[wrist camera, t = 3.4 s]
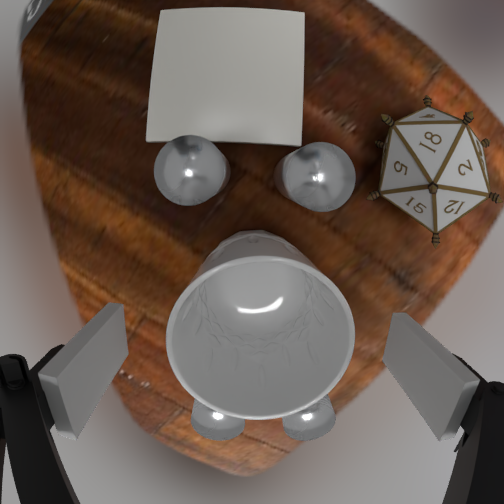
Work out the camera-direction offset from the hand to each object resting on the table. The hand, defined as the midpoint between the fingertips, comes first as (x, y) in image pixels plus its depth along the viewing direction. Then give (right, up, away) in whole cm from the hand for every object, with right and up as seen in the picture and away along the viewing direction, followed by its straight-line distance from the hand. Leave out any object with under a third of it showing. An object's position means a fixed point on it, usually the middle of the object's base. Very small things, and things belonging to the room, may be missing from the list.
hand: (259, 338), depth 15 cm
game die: (+11, +10, +6) cm, 16 cm away
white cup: (0, +2, +8) cm, 8 cm away
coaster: (-2, +16, +5) cm, 17 cm away
